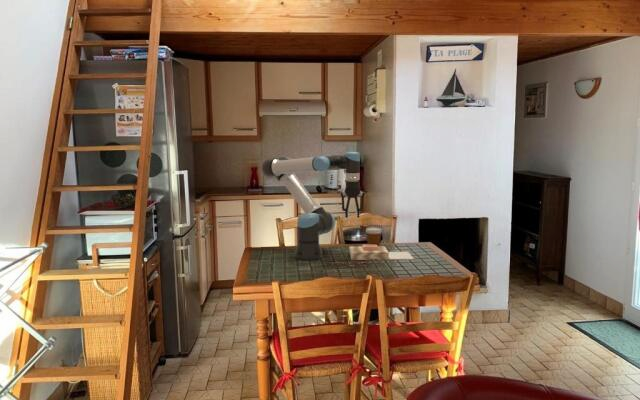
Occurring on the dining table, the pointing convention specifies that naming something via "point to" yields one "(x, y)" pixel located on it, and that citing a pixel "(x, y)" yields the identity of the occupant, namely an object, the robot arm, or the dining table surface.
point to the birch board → (368, 253)
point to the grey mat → (400, 256)
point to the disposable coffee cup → (373, 236)
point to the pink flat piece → (370, 247)
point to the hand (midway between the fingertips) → (352, 223)
